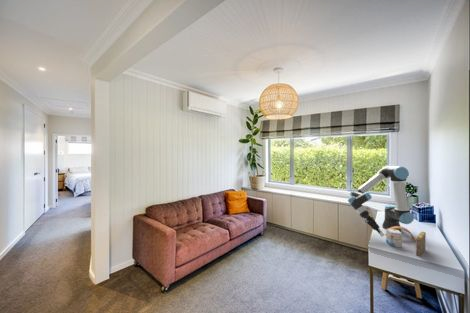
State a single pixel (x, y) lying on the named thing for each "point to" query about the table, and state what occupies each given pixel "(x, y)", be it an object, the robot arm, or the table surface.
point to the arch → (402, 229)
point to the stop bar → (420, 243)
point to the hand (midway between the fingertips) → (383, 235)
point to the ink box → (394, 238)
